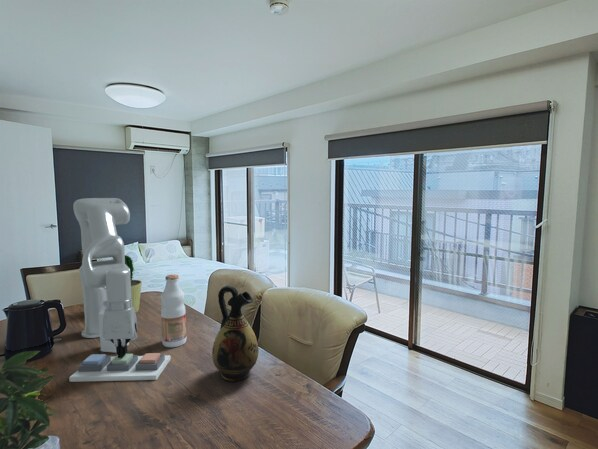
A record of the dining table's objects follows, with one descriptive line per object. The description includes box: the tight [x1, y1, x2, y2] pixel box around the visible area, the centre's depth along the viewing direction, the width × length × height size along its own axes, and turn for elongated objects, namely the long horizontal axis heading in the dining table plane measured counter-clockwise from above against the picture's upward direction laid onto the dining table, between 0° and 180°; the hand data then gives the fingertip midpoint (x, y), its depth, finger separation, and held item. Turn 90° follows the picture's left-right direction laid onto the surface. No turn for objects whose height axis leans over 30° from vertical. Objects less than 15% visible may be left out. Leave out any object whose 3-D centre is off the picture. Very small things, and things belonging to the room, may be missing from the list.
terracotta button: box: [140, 352, 161, 364], centre depth 120 cm, size 5×5×2 cm
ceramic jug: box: [211, 285, 260, 383], centre depth 116 cm, size 17×15×30 cm
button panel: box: [68, 354, 172, 383], centre depth 120 cm, size 14×28×4 cm, turn 92°
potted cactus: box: [125, 254, 143, 313], centre depth 178 cm, size 15×15×30 cm
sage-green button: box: [112, 353, 134, 364], centre depth 120 cm, size 5×5×2 cm
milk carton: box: [99, 305, 130, 354], centre depth 136 cm, size 7×7×19 cm
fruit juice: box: [160, 274, 188, 348], centre depth 140 cm, size 9×9×28 cm
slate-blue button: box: [82, 353, 107, 365], centre depth 120 cm, size 5×5×2 cm
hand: (122, 355), depth 120 cm, fingers closed
